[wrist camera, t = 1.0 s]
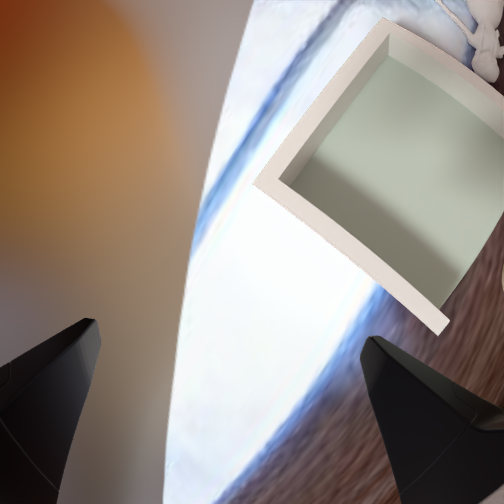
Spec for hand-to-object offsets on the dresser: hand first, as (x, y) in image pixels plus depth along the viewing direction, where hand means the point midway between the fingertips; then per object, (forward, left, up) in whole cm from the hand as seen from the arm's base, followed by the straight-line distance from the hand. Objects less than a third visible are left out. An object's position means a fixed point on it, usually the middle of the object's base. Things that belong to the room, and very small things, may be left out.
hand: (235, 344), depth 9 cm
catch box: (-2, -12, -13) cm, 18 cm away
